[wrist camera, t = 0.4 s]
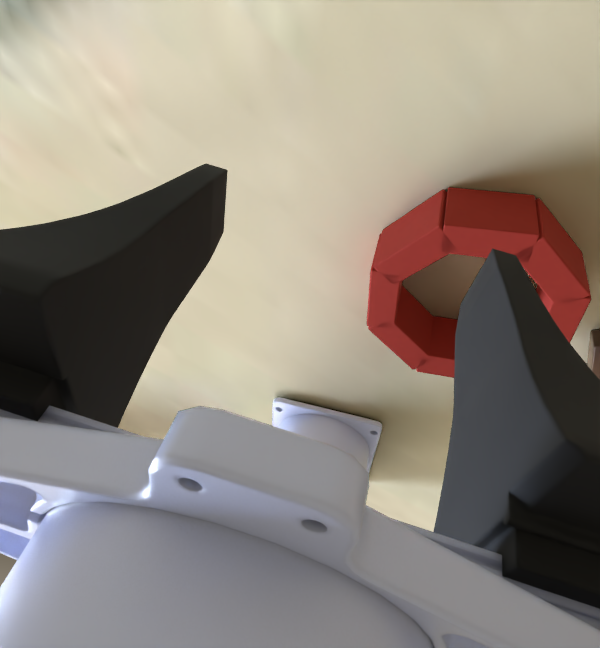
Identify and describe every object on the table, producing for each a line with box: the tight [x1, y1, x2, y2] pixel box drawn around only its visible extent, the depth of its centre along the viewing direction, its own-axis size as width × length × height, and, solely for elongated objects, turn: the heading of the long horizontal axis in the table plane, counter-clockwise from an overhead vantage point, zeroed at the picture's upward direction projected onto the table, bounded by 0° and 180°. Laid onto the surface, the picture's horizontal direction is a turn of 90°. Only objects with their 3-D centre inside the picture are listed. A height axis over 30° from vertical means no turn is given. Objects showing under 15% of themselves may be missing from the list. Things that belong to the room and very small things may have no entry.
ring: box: [367, 187, 591, 378], centre depth 24 cm, size 9×9×3 cm
